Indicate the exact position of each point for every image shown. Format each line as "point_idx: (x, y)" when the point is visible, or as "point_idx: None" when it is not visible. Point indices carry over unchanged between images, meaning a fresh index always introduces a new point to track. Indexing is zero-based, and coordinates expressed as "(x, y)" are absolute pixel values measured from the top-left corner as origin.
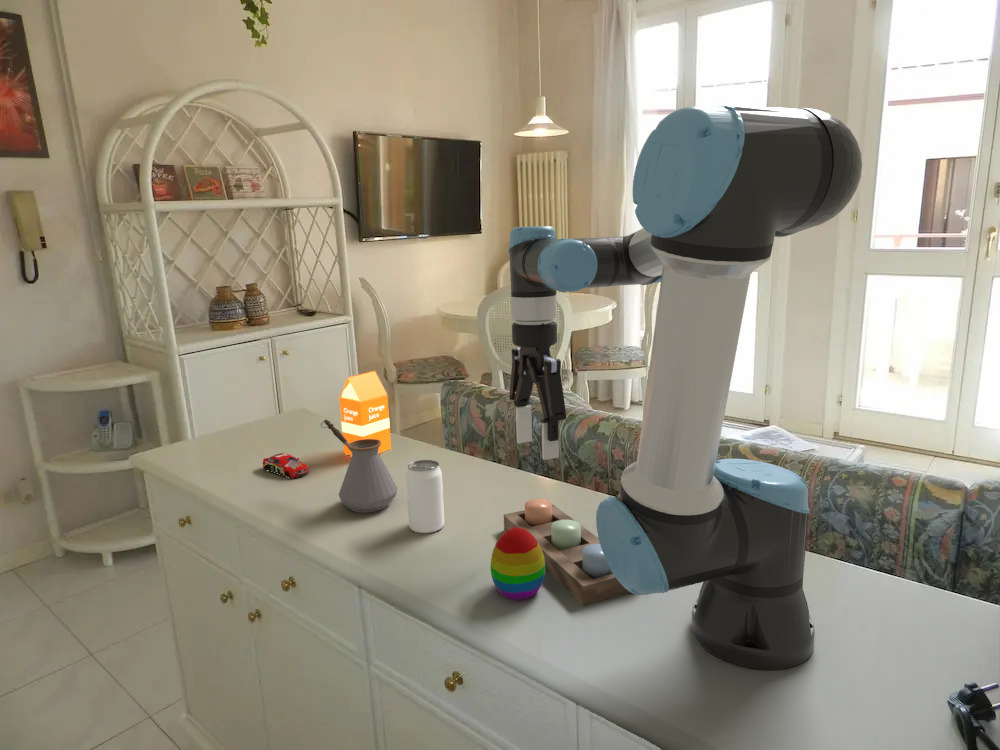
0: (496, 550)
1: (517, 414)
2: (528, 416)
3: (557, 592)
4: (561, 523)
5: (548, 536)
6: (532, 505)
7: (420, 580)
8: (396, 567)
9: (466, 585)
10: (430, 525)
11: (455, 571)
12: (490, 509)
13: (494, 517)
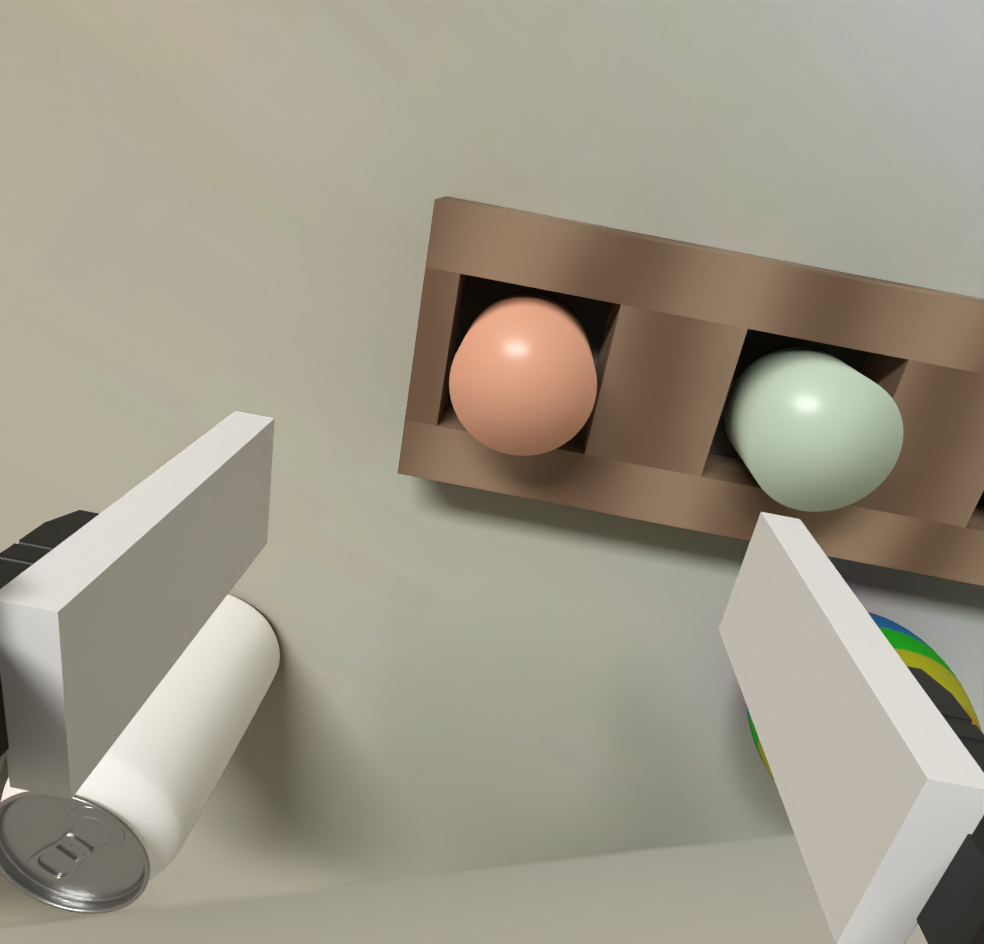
0: None
1: (117, 730)
2: (144, 572)
3: (934, 581)
4: (789, 444)
5: (707, 449)
6: (516, 420)
7: (557, 814)
8: (442, 824)
9: (676, 746)
10: (271, 680)
11: (579, 727)
12: (185, 369)
13: (273, 404)
